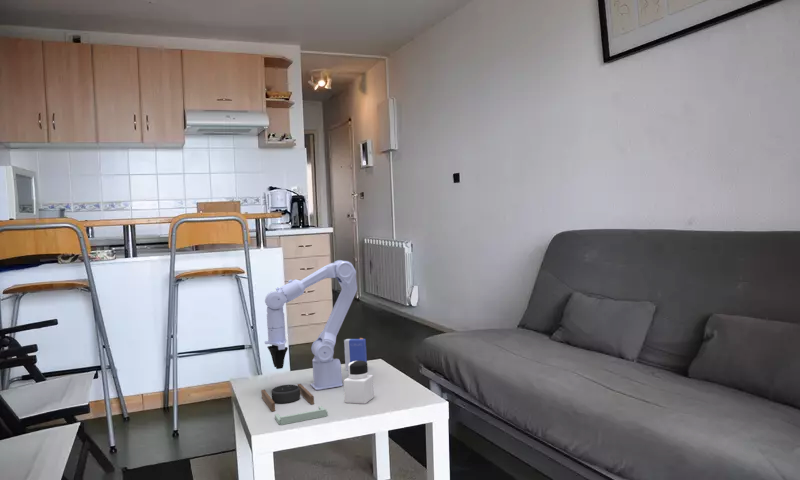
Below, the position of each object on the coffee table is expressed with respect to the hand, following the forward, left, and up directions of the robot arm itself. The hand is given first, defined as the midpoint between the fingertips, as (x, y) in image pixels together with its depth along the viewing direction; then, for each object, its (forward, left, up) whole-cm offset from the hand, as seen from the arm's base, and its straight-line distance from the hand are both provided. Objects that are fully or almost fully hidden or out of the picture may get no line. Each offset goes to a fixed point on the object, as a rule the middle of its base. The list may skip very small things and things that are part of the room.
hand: (278, 367), depth 189 cm
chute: (0, +11, -8) cm, 14 cm away
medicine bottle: (-20, +24, -9) cm, 32 cm away
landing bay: (0, +30, -8) cm, 31 cm away
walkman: (-32, -13, -9) cm, 36 cm away
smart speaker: (0, +10, -9) cm, 13 cm away
